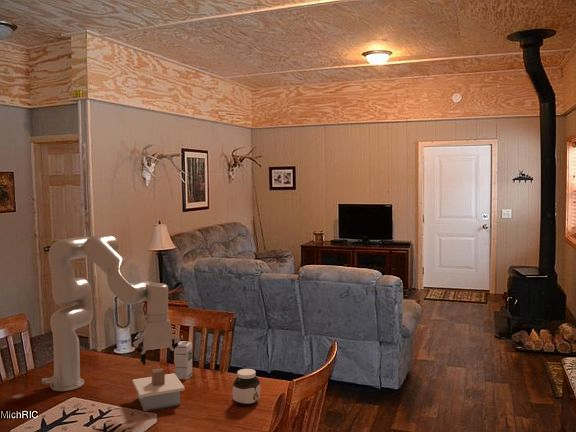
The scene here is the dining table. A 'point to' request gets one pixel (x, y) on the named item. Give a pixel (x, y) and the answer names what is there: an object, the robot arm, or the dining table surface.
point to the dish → (160, 401)
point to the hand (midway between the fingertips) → (156, 362)
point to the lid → (158, 384)
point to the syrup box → (183, 360)
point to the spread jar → (246, 387)
